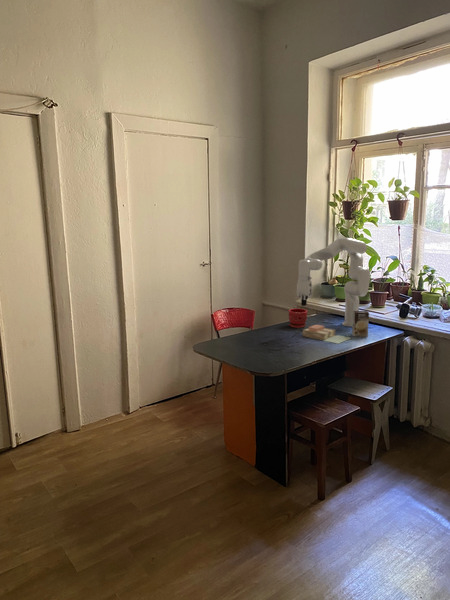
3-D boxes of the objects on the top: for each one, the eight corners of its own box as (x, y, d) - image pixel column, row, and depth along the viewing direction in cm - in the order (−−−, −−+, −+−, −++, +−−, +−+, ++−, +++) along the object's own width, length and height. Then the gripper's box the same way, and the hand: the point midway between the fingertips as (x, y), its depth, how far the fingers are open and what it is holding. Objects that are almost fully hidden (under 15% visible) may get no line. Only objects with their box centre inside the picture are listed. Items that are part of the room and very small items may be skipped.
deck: (314, 331, 303) (314, 326, 303) (335, 335, 292) (335, 329, 292) (302, 336, 294) (302, 330, 293) (323, 340, 283) (323, 334, 282)
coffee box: (353, 336, 289) (354, 312, 286) (351, 334, 296) (352, 310, 293) (368, 336, 288) (369, 312, 285) (366, 334, 295) (367, 310, 292)
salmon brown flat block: (316, 327, 299) (316, 324, 298) (323, 328, 295) (324, 326, 294) (308, 330, 293) (308, 327, 292) (316, 331, 288) (316, 328, 288)
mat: (336, 335, 293) (336, 335, 293) (350, 338, 286) (351, 337, 286) (323, 340, 282) (323, 340, 282) (338, 343, 274) (338, 343, 274)
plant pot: (287, 328, 314) (287, 311, 312) (290, 323, 327) (290, 307, 324) (305, 329, 311) (306, 312, 308) (308, 324, 323) (308, 308, 321)
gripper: (317, 278, 292) (316, 306, 295) (298, 276, 302) (297, 303, 305) (310, 280, 286) (310, 307, 290) (291, 278, 297) (291, 304, 300)
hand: (303, 305), depth 298 cm, fingers closed
